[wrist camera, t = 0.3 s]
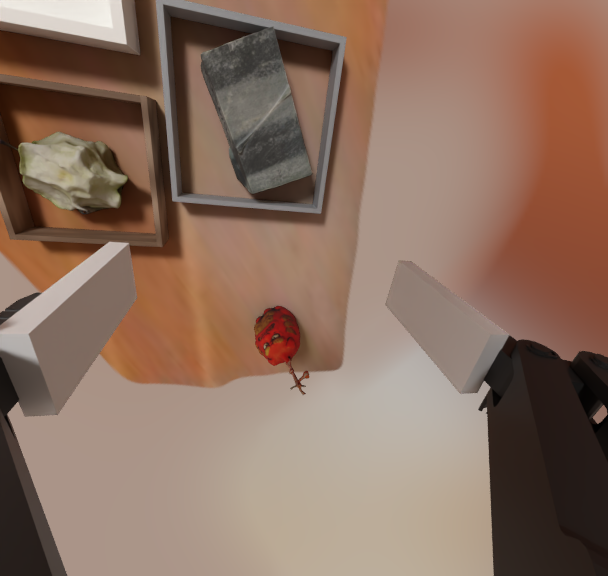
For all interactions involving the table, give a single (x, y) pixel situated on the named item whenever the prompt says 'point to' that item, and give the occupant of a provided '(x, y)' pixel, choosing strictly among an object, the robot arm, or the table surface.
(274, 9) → the table surface
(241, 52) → the stone block
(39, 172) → the pale lumpy lump
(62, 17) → the tray
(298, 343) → the red clay folk toy
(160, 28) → the stone frame
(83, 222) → the table surface
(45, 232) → the wooden frame
